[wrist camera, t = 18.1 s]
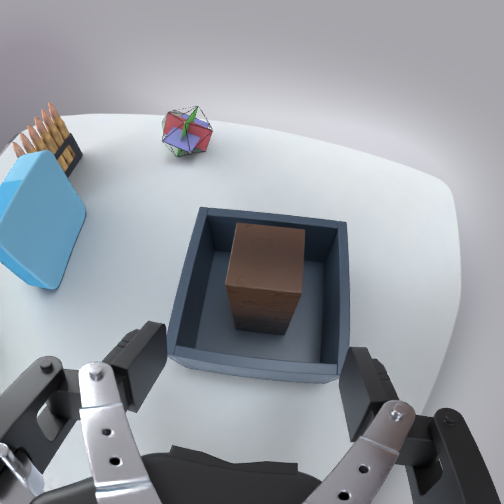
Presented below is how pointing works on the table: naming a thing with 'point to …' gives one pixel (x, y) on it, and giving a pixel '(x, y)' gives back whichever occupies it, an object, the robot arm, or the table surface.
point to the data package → (38, 219)
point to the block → (265, 277)
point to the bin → (252, 343)
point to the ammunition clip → (52, 140)
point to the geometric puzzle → (186, 131)
